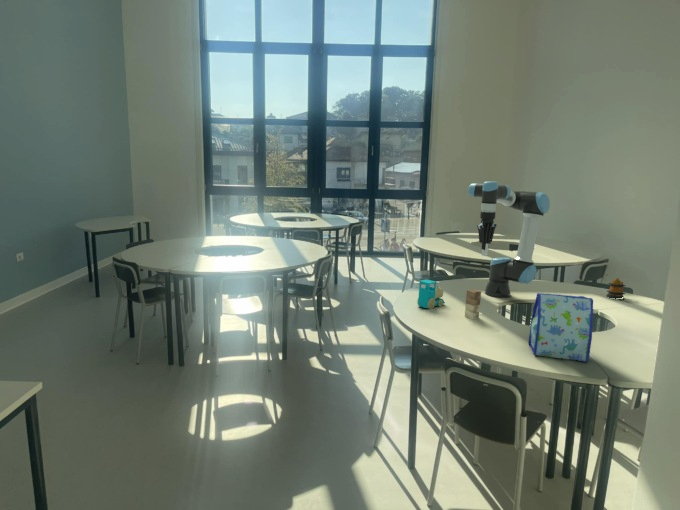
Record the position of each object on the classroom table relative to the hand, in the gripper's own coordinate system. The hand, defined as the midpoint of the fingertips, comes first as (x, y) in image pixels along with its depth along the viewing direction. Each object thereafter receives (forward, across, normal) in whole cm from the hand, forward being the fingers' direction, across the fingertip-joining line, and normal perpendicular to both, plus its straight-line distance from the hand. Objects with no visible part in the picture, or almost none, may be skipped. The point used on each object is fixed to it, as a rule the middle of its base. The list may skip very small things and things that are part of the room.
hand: (484, 255), depth 250 cm
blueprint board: (+31, +13, +6) cm, 34 cm away
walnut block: (+23, +15, +7) cm, 28 cm away
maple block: (+30, +15, +7) cm, 34 cm away
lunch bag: (+31, +17, +56) cm, 67 cm away
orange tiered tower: (+33, -102, +21) cm, 109 cm away
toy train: (+31, +17, -20) cm, 41 cm away
